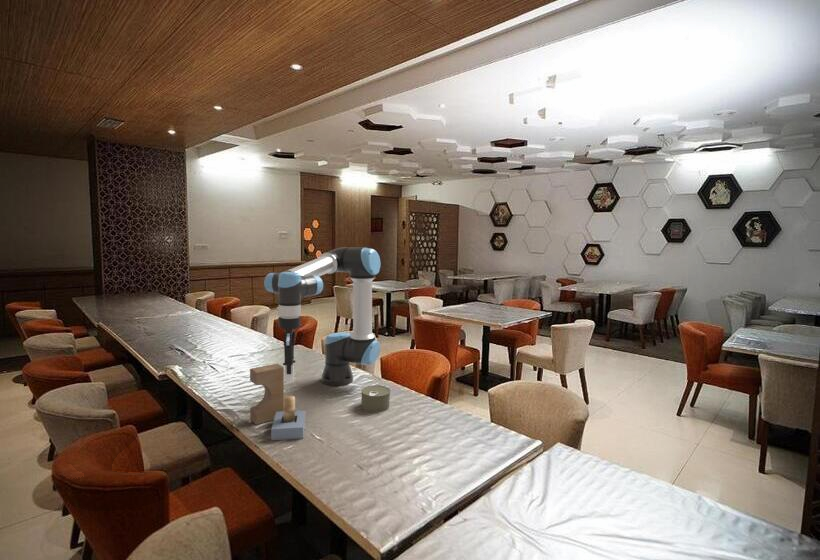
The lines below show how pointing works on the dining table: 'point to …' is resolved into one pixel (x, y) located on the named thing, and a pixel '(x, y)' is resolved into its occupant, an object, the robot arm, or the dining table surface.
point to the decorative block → (268, 392)
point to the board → (288, 427)
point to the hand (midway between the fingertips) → (289, 381)
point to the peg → (288, 409)
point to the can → (375, 398)
